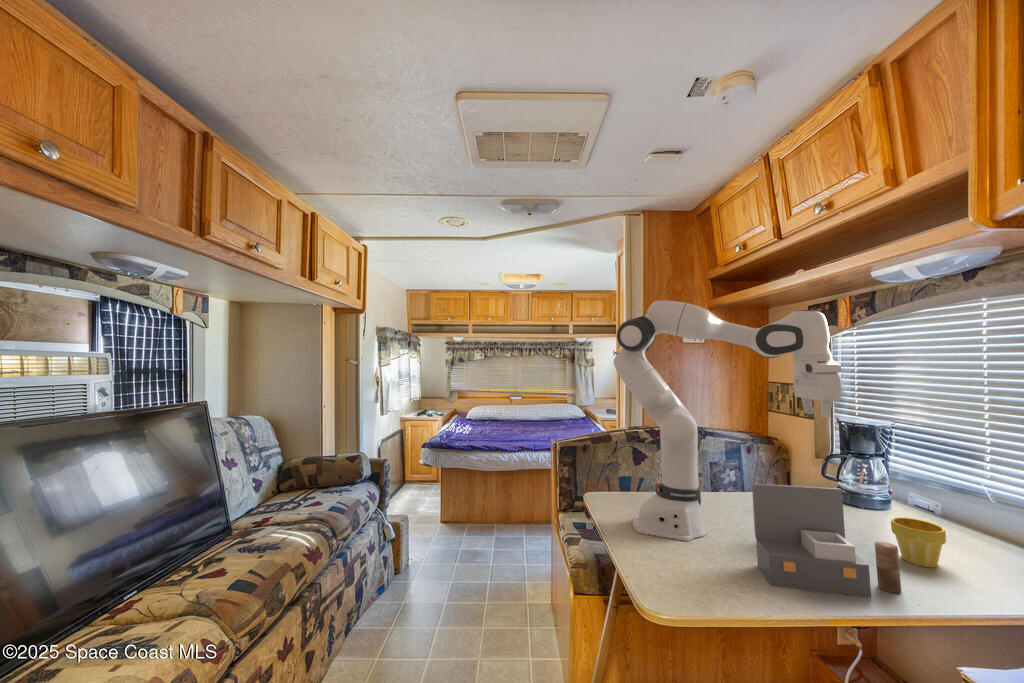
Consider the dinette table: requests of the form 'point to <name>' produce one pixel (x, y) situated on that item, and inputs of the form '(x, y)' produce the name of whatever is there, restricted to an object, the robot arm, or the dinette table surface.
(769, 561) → the case
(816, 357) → the robot arm
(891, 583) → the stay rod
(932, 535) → the plant pot
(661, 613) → the dinette table surface
